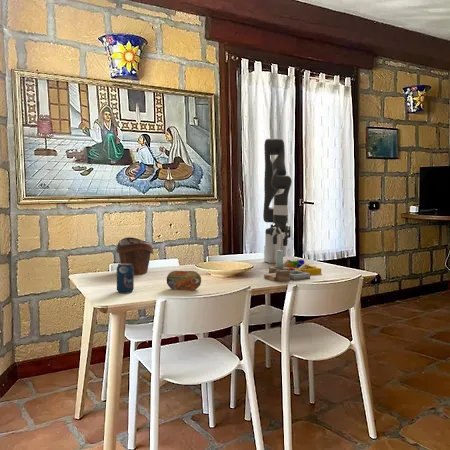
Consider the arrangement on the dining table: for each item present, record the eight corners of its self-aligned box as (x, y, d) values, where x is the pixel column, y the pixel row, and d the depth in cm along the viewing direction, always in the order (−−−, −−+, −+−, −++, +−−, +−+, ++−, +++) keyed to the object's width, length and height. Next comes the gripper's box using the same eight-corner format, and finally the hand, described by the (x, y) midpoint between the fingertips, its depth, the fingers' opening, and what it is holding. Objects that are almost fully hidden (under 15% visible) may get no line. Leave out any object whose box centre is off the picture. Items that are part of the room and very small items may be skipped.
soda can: (127, 294, 187) (127, 265, 186) (113, 292, 190) (113, 264, 189) (136, 291, 194) (136, 263, 193) (123, 289, 196) (122, 262, 195)
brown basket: (143, 276, 225) (143, 240, 224) (108, 274, 231) (108, 239, 230) (160, 271, 241) (160, 237, 240) (127, 269, 248) (127, 236, 247)
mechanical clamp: (303, 265, 229) (274, 257, 257) (303, 278, 230) (273, 268, 257) (333, 263, 237) (301, 256, 264) (333, 275, 237) (301, 266, 265)
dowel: (274, 273, 240) (275, 250, 239) (280, 272, 242) (280, 250, 241) (278, 274, 237) (279, 251, 236) (284, 273, 239) (284, 250, 238)
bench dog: (275, 280, 219) (276, 270, 218) (285, 279, 222) (285, 269, 222) (279, 282, 216) (279, 271, 216) (289, 280, 219) (289, 270, 219)
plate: (263, 279, 226) (264, 274, 226) (276, 277, 230) (276, 272, 230) (273, 281, 219) (273, 276, 219) (286, 280, 223) (287, 275, 223)
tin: (166, 289, 198) (166, 270, 197) (168, 288, 201) (168, 269, 200) (200, 291, 195) (200, 271, 195) (201, 289, 198) (201, 270, 198)
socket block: (268, 272, 241) (268, 267, 240) (280, 271, 245) (280, 266, 244) (277, 275, 234) (278, 269, 234) (290, 273, 238) (290, 268, 238)
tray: (281, 276, 230) (281, 271, 230) (296, 275, 235) (296, 270, 235) (293, 280, 221) (293, 275, 221) (309, 278, 226) (309, 273, 226)
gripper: (266, 213, 241) (266, 244, 242) (283, 214, 229) (282, 246, 230) (278, 213, 245) (277, 243, 246) (294, 214, 233) (294, 246, 234)
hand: (279, 245), depth 238 cm, fingers open, 8 cm apart
